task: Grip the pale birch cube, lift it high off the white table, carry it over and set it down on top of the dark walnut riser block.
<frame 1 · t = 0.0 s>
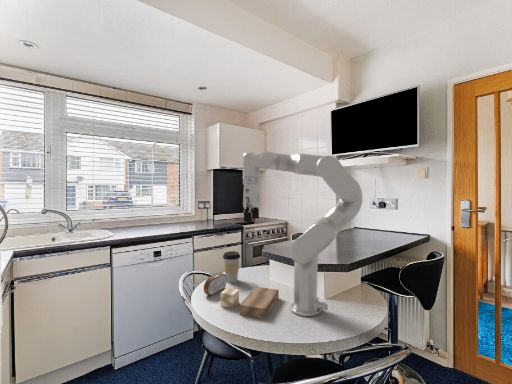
hand: (251, 219, 125), 37 cm above the table, tool pointing down, fingers open, 9 cm apart
birch cube: (229, 304, 124), on the table
walnut riser: (260, 305, 123), on the table
tin: (216, 292, 138), on the table
coffee cup: (231, 281, 152), on the table
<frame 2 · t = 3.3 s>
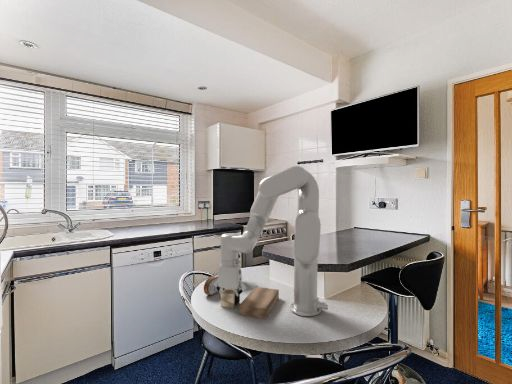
hand: (229, 302, 124), 1 cm above the table, tool pointing down, fingers closed on birch cube, 6 cm apart
birch cube: (229, 304, 124), on the table, touching gripper
everything else where it was.
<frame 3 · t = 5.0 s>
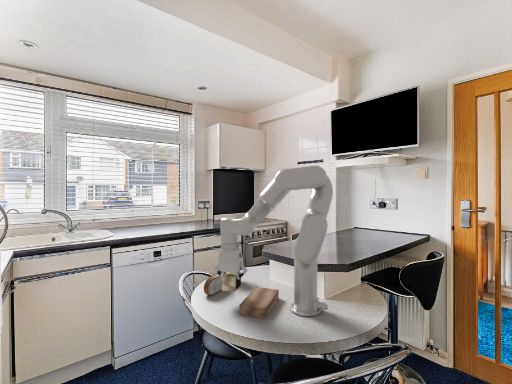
hand: (231, 286, 124), 8 cm above the table, tool pointing down, fingers closed on birch cube, 6 cm apart
birch cube: (231, 288, 124), point 7 cm above the table, touching gripper
everything else where it was.
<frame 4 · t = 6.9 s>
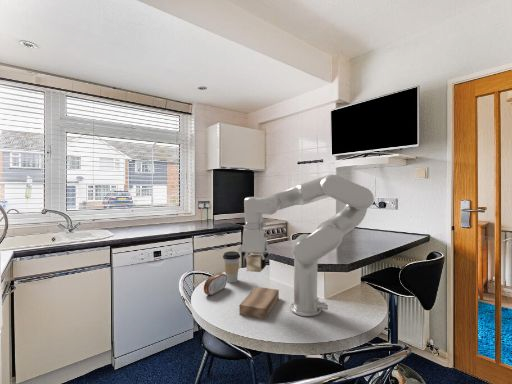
hand: (255, 267, 122), 17 cm above the table, tool pointing down, fingers closed on birch cube, 6 cm apart
birch cube: (255, 269, 122), point 16 cm above the table, touching gripper
everything else where it was.
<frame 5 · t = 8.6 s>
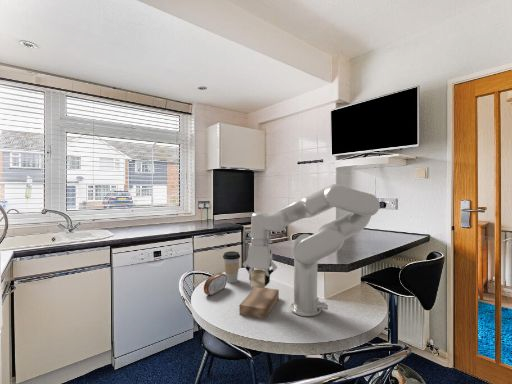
hand: (259, 282, 122), 10 cm above the table, tool pointing down, fingers closed on birch cube, 6 cm apart
birch cube: (259, 284, 122), point 9 cm above the table, touching gripper
everything else where it was.
when the fingers open (6 cm above the table, at t = 10.3 s): birch cube stays where it is, resting on walnut riser.
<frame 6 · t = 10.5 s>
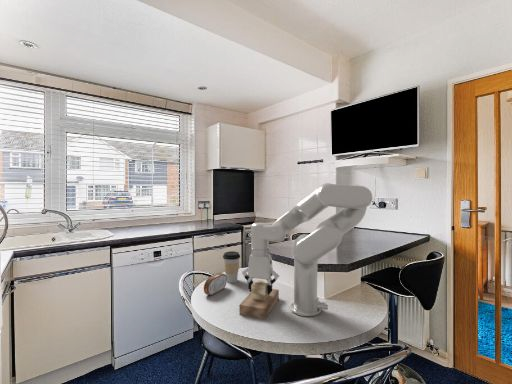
hand: (260, 291, 122), 6 cm above the table, tool pointing down, fingers open, 7 cm apart
birch cube: (260, 296, 122), point 4 cm above the table, touching walnut riser
everything else where it was.
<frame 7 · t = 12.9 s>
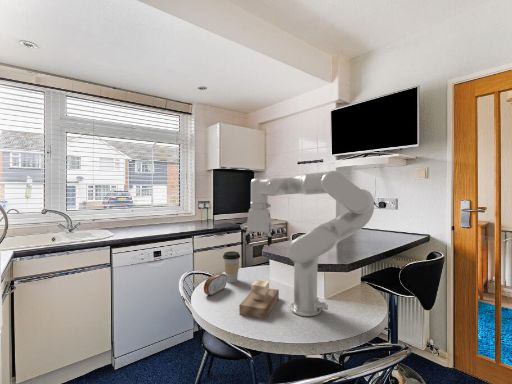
hand: (258, 244, 127), 25 cm above the table, tool pointing down, fingers open, 9 cm apart
nothing on the table moved.
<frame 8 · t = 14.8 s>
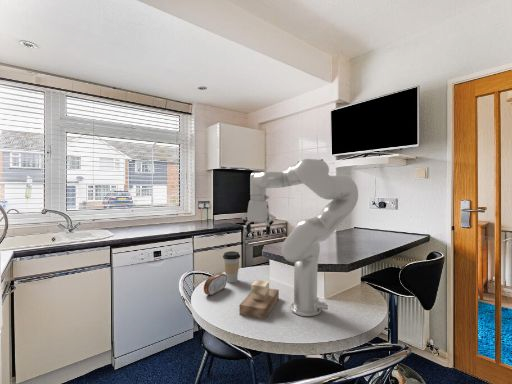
hand: (258, 233, 137), 28 cm above the table, tool pointing down, fingers open, 9 cm apart
nothing on the table moved.
at the end: birch cube inside the target area on the walnut riser (0.0 cm from its centre), point 4.0 cm above the walnut riser's base; birch cube tilted 0°; the gripper is holding nothing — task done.
